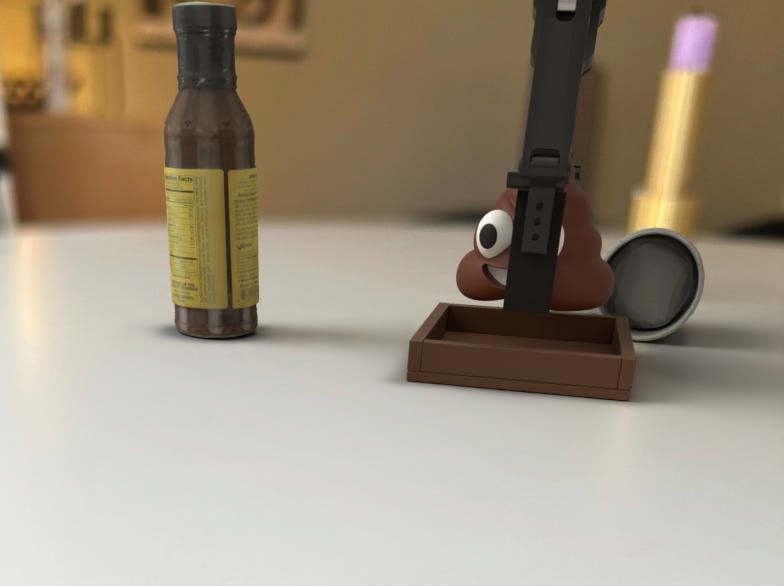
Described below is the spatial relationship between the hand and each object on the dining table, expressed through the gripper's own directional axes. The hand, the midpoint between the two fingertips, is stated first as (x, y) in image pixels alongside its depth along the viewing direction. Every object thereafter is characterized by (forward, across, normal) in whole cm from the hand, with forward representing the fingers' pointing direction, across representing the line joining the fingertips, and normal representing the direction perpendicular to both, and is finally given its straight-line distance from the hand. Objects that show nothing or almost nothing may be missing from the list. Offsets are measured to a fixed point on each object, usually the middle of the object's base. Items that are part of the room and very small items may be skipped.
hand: (529, 297), depth 63 cm
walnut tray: (+4, 0, 0) cm, 4 cm away
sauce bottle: (+4, -2, -22) cm, 22 cm away
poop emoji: (0, 0, 0) cm, 0 cm away
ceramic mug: (+4, -15, +7) cm, 17 cm away
